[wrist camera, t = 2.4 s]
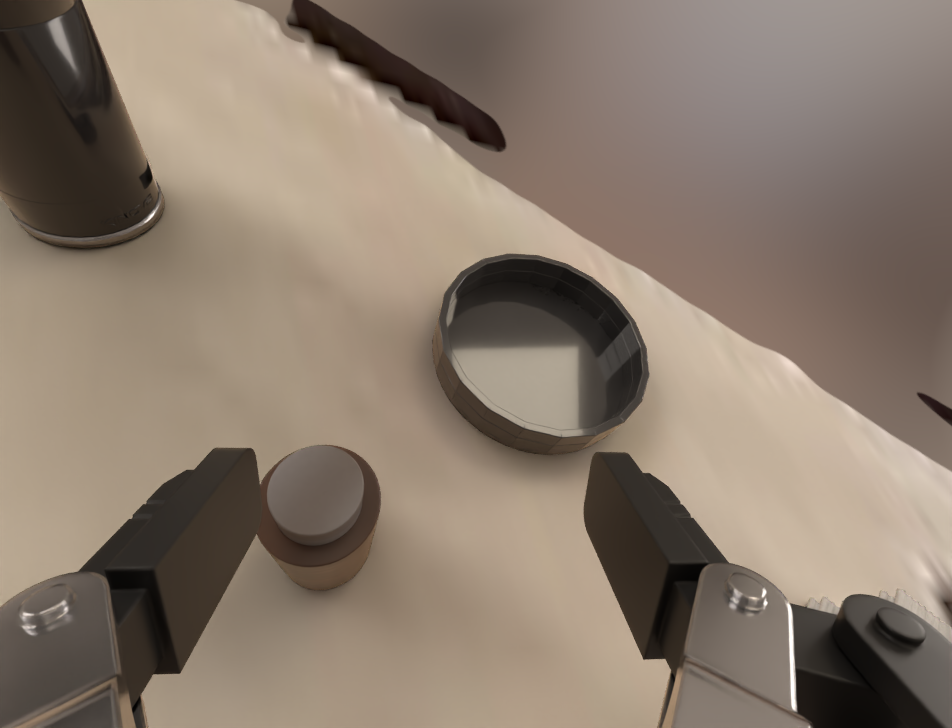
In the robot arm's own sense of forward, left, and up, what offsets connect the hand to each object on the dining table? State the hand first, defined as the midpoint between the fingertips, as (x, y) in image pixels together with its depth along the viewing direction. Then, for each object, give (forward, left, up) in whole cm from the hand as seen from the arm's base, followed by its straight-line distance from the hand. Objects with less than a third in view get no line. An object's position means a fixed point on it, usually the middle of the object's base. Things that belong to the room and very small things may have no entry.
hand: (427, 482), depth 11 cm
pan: (+2, +20, -19) cm, 28 cm away
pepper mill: (-4, 0, -19) cm, 19 cm away
